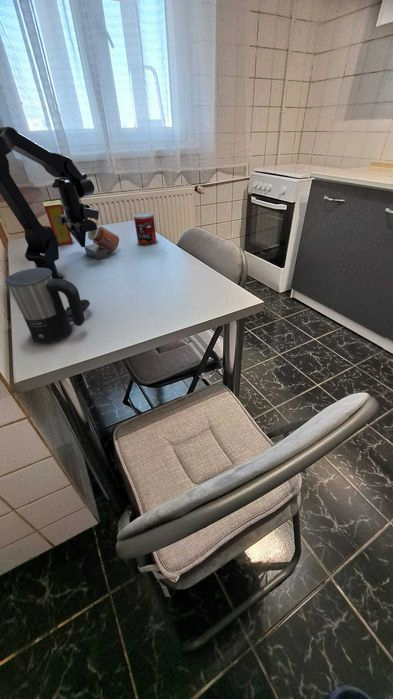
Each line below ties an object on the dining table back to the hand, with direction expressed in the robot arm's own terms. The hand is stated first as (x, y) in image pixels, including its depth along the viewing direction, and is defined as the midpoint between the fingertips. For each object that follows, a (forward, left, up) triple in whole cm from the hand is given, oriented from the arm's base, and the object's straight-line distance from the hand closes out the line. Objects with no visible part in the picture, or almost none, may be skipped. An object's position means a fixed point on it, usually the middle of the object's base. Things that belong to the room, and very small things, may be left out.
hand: (83, 247), depth 109 cm
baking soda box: (+28, -3, -5) cm, 28 cm away
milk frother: (-40, +26, -5) cm, 48 cm away
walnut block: (0, -4, -4) cm, 6 cm away
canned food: (-2, -27, -5) cm, 27 cm away
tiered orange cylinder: (-1, -9, -4) cm, 10 cm away
